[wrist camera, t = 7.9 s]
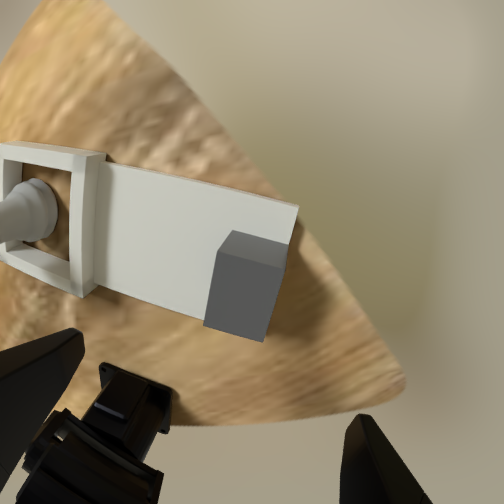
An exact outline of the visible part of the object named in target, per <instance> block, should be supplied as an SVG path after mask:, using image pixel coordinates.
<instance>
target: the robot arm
mask: <svg viewBox="0 0 504 504" xmlns="http://www.w3.org/2000/svg"><path fill="white" fill-rule="evenodd" d="M84 354H85V345H84V337H83V333H82V332H81V331H79V330H77V329H75V328H68V329H65V330H62V331H59V332H56V333H54V334H51V335H48V336H45V337H42V338H39V339H36V340H33V341H30V342H27V343H24V344H21V345H18V346H15V347H12V348H9V349H6V350H3V351H0V493H1V491H2V489H3V488H4V486H5V484H6V482H7V481H8V479H9V477H10V475H11V474H12V472H13V470H14V469H15V467H16V465H17V463H18V462H19V460H20V459H21V457H22V455H23V454H24V452H25V453H26V455H25V457H24V460H25V461H24V463H23V466H22V469H24V470H25V471H26V472H28V473H29V476H28V477H27V479H26V481H25V482H24V484H23V485H22V487H21V489H20V490H19V492H18V494H17V496H16V503H15V504H157V503H158V499H159V494H160V490H161V486H162V481H163V477H164V473H162V472H161V471H159V470H155V469H153V468H151V467H149V466H148V465H146V464H144V463H143V461H144V459H145V457H146V455H147V453H148V451H149V449H150V446H151V444H152V442H153V440H154V438H155V436H156V434H157V432H159V433H162V434H168V432H169V430H170V419H171V406H172V395H173V392H172V390H171V389H170V388H168V387H166V386H163V385H160V384H157V383H155V382H152V381H149V380H147V379H144V378H142V377H139V376H136V375H134V374H131V373H129V372H127V371H124V370H122V369H119V368H117V367H115V366H112V365H110V364H108V363H105V362H102V363H101V364H100V365H99V374H100V381H101V388H102V390H101V392H100V393H99V394H98V396H97V397H96V399H95V400H94V401H93V403H92V404H91V406H90V407H89V409H88V410H87V411H86V413H85V414H84V416H83V417H82V418H81V420H79V419H78V418H77V417H75V416H74V415H73V414H71V411H69V410H68V409H67V408H65V409H64V410H63V411H62V412H59V411H56V410H54V411H53V412H52V413H51V415H50V416H49V417H48V419H47V420H46V421H45V419H46V418H47V416H48V415H49V413H50V412H51V411H52V409H53V408H54V406H55V405H56V403H57V402H58V400H59V399H60V397H61V396H62V394H63V393H64V391H65V390H66V388H67V386H68V384H69V383H70V381H71V379H72V377H73V375H74V373H75V371H76V370H77V368H78V366H79V364H80V362H81V360H82V359H83V357H84ZM44 421H45V422H44ZM42 424H43V425H42ZM57 436H60V437H61V438H62V439H63V441H61V440H60V439H59V438H58V437H57ZM339 504H433V503H432V502H431V500H430V499H429V498H428V496H427V495H426V493H424V490H423V489H422V488H421V486H420V485H419V483H418V482H417V480H416V479H415V478H414V476H413V475H412V473H411V472H410V470H409V469H408V468H407V466H406V465H405V463H404V462H403V460H402V459H401V458H400V456H399V455H398V453H397V452H396V450H395V449H394V448H393V446H392V445H391V443H390V442H389V441H388V439H387V438H386V436H385V435H384V433H383V432H382V431H381V429H380V428H379V426H378V425H377V423H376V422H375V421H374V419H373V418H372V416H370V415H367V414H358V415H356V417H355V418H354V419H353V421H352V422H351V424H350V425H349V426H348V428H347V430H346V433H345V440H344V449H343V456H342V464H341V472H340V498H339Z"/></svg>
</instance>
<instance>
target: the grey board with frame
mask: <svg viewBox="0 0 504 504" xmlns="http://www.w3.org/2000/svg"><path fill="white" fill-rule="evenodd" d="M105 160H106V153H103V152H97V151H90V150H84V149H77V148H71V147H64V146H56V145H49V144H41V143H33V142H25V141H10V142H4V143H0V202H1V201H3V200H4V199H5V198H6V197H7V195H8V194H9V193H11V191H12V190H13V188H14V187H15V186H16V185H18V184H20V183H22V162H24V163H30V164H35V165H40V166H46V167H51V168H56V169H61V170H66V171H71V172H72V177H71V192H70V216H69V257H70V262H69V261H66V260H63V259H61V258H58V257H56V256H53V255H51V254H48V253H45V252H43V251H40V250H38V249H36V248H33V247H31V246H28V245H26V244H23V241H20V240H18V239H16V240H11V241H7V242H4V243H2V244H0V260H1V261H3V262H5V263H6V264H8V265H10V266H12V267H14V268H16V269H18V270H21V271H23V272H25V273H27V274H29V275H31V276H33V277H35V278H37V279H39V280H42V281H44V282H46V283H48V284H50V285H53V286H55V287H57V288H59V289H62V290H64V291H66V292H68V293H71V294H73V295H76V296H78V297H80V298H84V297H85V296H86V295H88V294H89V293H90V292H91V291H92V290H94V289H95V288H96V287H97V286H98V285H101V286H104V287H107V288H109V289H112V290H115V291H117V292H120V293H123V294H126V295H129V296H131V297H134V298H137V299H140V300H143V301H146V302H149V303H152V304H155V305H158V306H161V307H164V308H167V309H170V310H173V311H176V312H179V313H182V314H186V315H189V316H192V317H195V318H199V319H202V320H204V323H203V326H206V327H209V328H213V329H216V330H219V331H223V332H226V333H230V334H233V335H237V336H240V337H244V338H248V339H251V340H255V341H259V342H263V341H264V338H265V334H266V331H267V328H268V325H269V322H270V319H271V315H272V312H273V309H274V306H275V302H276V299H277V296H278V293H279V289H280V286H281V283H282V279H283V276H284V273H285V269H286V261H287V254H288V246H289V242H290V238H291V235H292V231H293V228H294V224H295V220H296V217H297V213H298V209H299V205H295V204H292V203H288V202H284V201H280V200H277V199H273V198H269V197H265V196H261V195H257V194H253V193H249V192H245V191H241V190H237V189H233V188H229V187H225V186H221V185H216V184H212V183H208V182H203V181H199V180H195V179H190V178H186V177H181V176H177V175H172V174H167V173H162V172H158V171H153V170H148V169H143V168H138V167H133V166H128V165H123V164H117V163H112V162H107V161H105Z"/></svg>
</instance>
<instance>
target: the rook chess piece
mask: <svg viewBox="0 0 504 504" xmlns="http://www.w3.org/2000/svg"><path fill="white" fill-rule="evenodd" d="M57 218H58V206H57V202H56V197H55V195H54V194H53V192H52V190H51V188H50V187H49V186H48V185H46V184H45V183H44V182H43V181H42V180H40V179H36V178H32V179H29V180H27V181H24V182H22V183H20V184H18V185H16V186H15V187H14V188H13V190H12V191H11V193H9V194H8V195H7V197H6V198H5V199H4V200H3V201H1V202H0V244H2V243H4V242H7V241H11V240H16V239H18V240H20V241H23V240H25V241H27V242H34V241H38V240H40V239H42V238H46V237H48V236H49V235H50V234H51V233H52V232H53V230H54V227H55V224H56V221H57Z"/></svg>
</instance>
